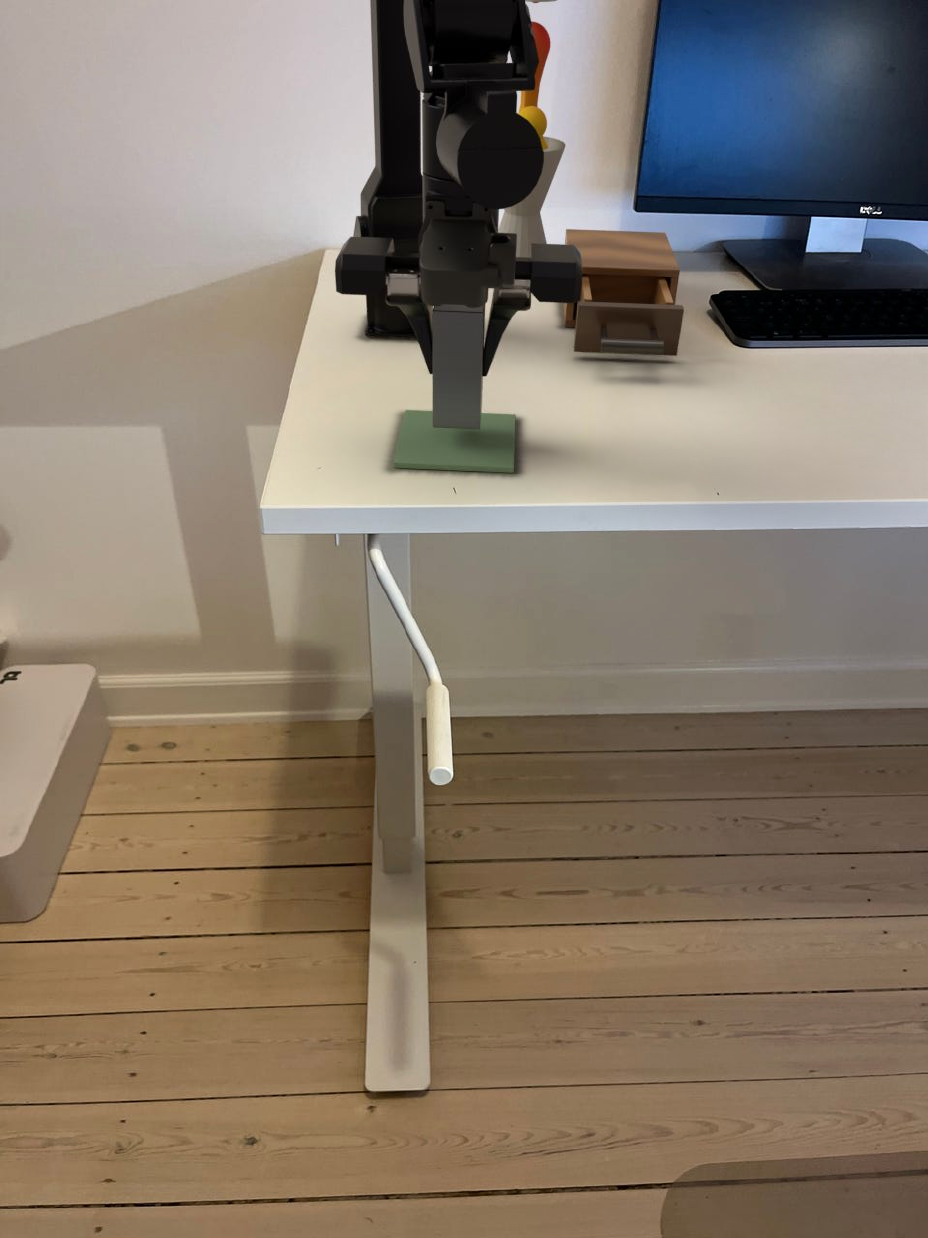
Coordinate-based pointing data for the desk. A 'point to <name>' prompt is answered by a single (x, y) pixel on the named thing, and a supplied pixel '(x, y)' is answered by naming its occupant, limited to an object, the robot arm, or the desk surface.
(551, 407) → the desk surface
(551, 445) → the desk surface
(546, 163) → the lava lamp
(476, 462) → the mat
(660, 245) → the cabinet
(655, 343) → the drawer
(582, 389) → the desk surface
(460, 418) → the tall grey pillar
